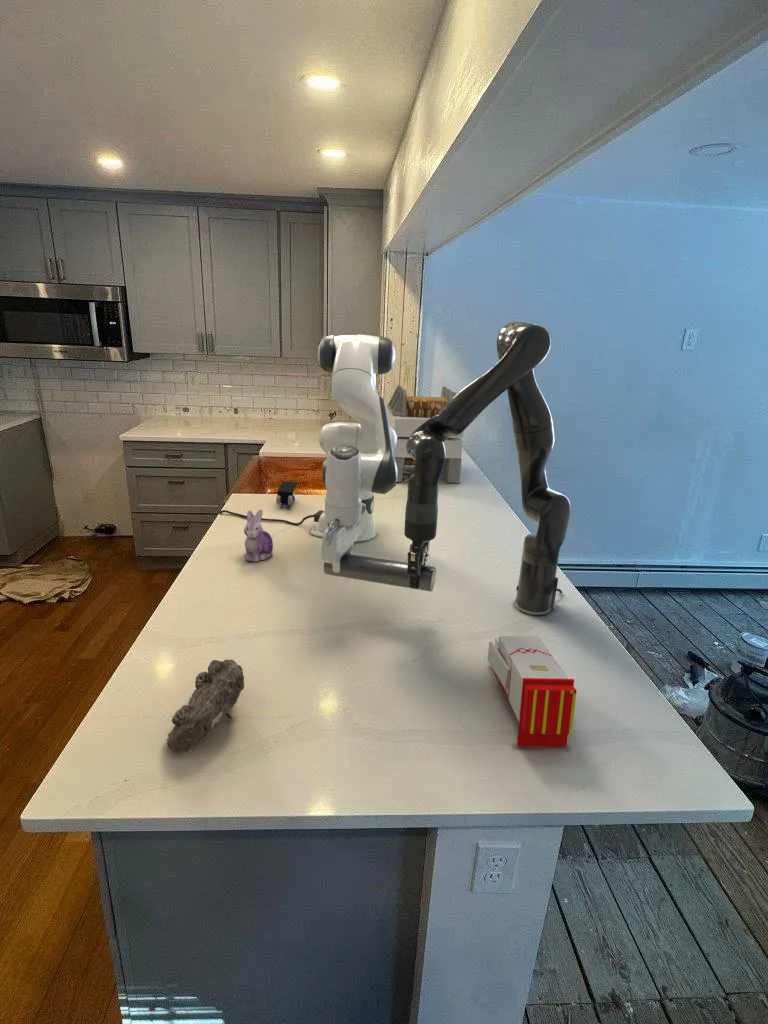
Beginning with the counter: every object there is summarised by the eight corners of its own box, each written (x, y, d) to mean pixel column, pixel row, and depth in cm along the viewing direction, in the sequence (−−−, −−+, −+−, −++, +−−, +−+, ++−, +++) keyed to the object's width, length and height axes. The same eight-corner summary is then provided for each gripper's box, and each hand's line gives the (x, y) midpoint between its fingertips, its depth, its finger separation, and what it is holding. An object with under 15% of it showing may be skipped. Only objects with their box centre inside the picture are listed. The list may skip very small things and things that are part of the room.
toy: (536, 619, 129) (586, 686, 99) (531, 673, 131) (578, 754, 102) (483, 618, 128) (517, 685, 99) (479, 672, 131) (511, 753, 102)
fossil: (192, 660, 117) (244, 628, 112) (224, 691, 120) (276, 661, 115) (142, 746, 98) (202, 712, 93) (182, 779, 101) (242, 748, 96)
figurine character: (293, 513, 218) (297, 497, 231) (292, 495, 215) (297, 480, 228) (275, 513, 218) (281, 496, 231) (274, 495, 214) (280, 479, 228)
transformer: (382, 463, 289) (386, 382, 275) (445, 464, 293) (451, 384, 279) (390, 482, 257) (394, 392, 243) (460, 483, 261) (468, 394, 247)
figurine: (248, 564, 171) (246, 518, 166) (239, 551, 179) (237, 507, 174) (278, 559, 175) (277, 514, 170) (269, 547, 183) (267, 503, 178)
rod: (323, 578, 141) (323, 556, 139) (332, 568, 147) (332, 547, 145) (430, 596, 135) (431, 573, 133) (435, 585, 140) (436, 562, 138)
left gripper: (340, 529, 127) (339, 585, 132) (367, 502, 146) (366, 551, 151) (314, 526, 129) (314, 580, 134) (344, 499, 147) (343, 548, 152)
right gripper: (430, 530, 125) (426, 597, 131) (442, 509, 138) (437, 572, 144) (397, 525, 127) (394, 592, 132) (412, 505, 140) (409, 567, 145)
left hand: (342, 565), depth 142 cm, fingers closed on rod, 6 cm apart
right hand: (417, 581), depth 138 cm, fingers closed on rod, 6 cm apart
